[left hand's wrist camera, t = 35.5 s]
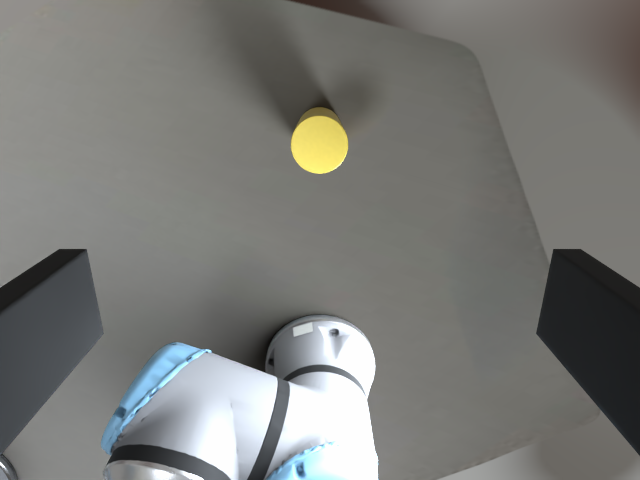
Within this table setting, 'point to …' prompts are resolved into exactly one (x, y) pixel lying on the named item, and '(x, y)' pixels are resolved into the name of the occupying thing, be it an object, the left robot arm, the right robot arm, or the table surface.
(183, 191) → the table surface
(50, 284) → the left robot arm
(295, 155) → the cylinder
